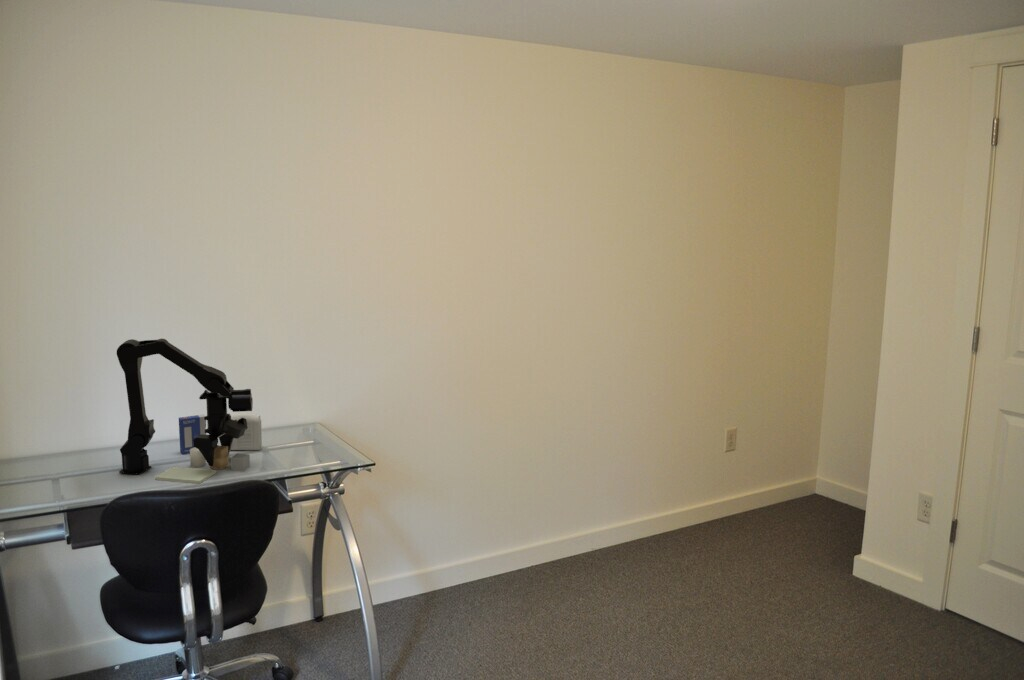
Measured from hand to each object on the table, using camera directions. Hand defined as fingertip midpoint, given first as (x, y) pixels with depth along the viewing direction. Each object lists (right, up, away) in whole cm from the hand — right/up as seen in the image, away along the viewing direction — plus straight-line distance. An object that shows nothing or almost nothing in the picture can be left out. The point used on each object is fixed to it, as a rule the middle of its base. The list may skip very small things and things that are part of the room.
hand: (219, 460), depth 232 cm
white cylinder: (-7, -1, +1) cm, 7 cm away
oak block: (0, -2, 0) cm, 2 cm away
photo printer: (+2, +1, +17) cm, 17 cm away
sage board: (-6, -3, -9) cm, 11 cm away
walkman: (-13, +1, +13) cm, 19 cm away
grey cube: (+7, -2, -1) cm, 7 cm away
